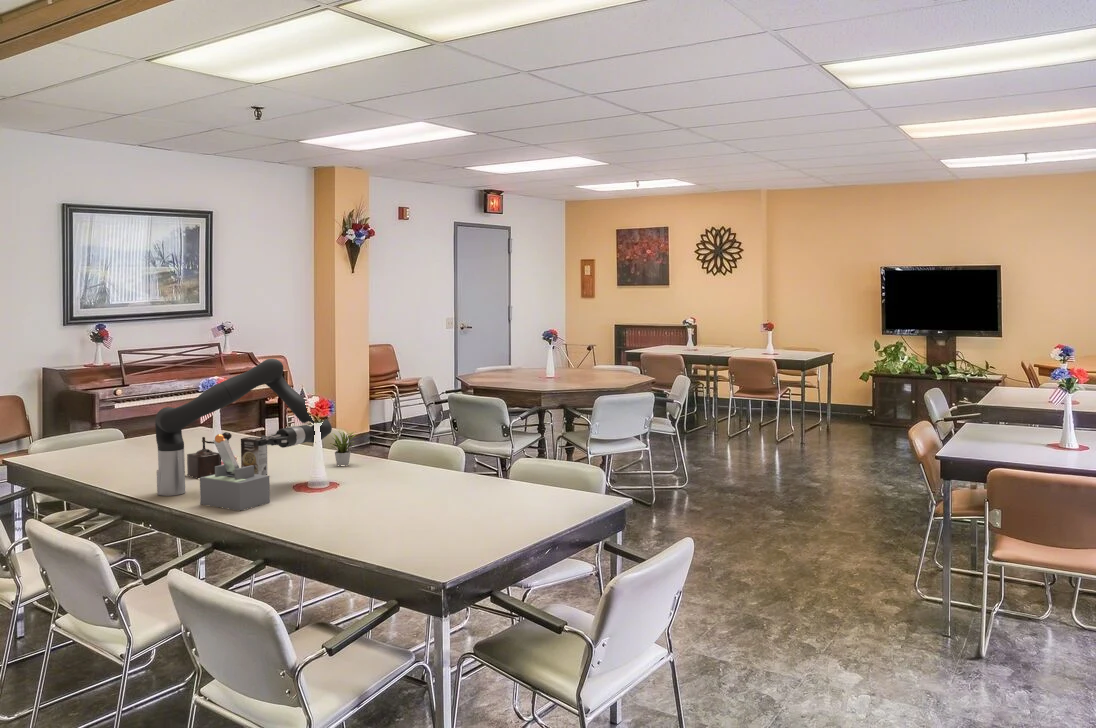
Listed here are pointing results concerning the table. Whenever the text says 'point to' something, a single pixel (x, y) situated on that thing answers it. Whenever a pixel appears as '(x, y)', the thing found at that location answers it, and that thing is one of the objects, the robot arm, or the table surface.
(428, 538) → the table surface
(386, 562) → the table surface
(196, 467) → the manual coffee grinder
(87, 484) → the table surface
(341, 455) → the house plant
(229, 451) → the lever
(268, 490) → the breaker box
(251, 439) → the coffee box
